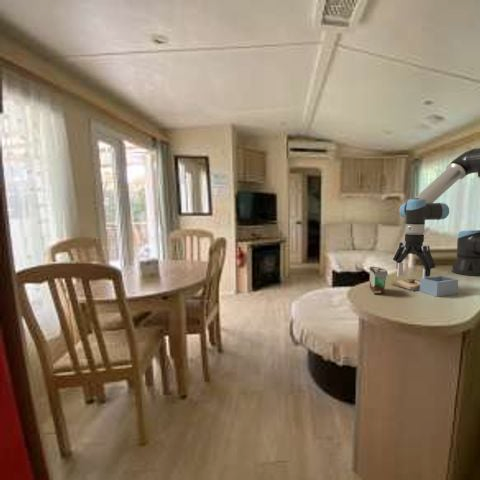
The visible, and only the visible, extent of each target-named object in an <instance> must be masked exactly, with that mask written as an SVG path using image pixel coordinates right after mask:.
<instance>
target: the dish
mask: <svg viewBox="0 0 480 480" xmlns="http://www.w3.org/2000/svg"><path fill="white" fill-rule="evenodd" d="M419 280H420V290H419V293H422V294H426V295H430V296H432V297H435V298H436V297H437V298H438V297H445V296H450V295H455V294H458V286H459V285H458V284H459V279H457V278H454V277H448V276H444V275H435V276H429V277H425V278H423V277H420V278H419Z"/></svg>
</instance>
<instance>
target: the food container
mask: <svg viewBox="0 0 480 480" xmlns="http://www.w3.org/2000/svg"><path fill="white" fill-rule="evenodd" d="M388 276H389V273H388V270H387V269H386V268H384V267H379V266H369V290H370V291H371V293H372V295H374V296H378V295H379V296H381V295H383V294H384V293H385V287H386V280H387V277H388Z"/></svg>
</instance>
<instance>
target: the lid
mask: <svg viewBox="0 0 480 480" xmlns="http://www.w3.org/2000/svg"><path fill="white" fill-rule="evenodd" d="M391 283H392V284H394V285H397V286H400V287H399V288H401V287H404V288H407V289H417V288H420V279H415V278H409V279H408V278H407V279H401V280H394V281H393V280H392V281H391ZM394 285H393V286H394ZM397 286H396V287H397ZM404 288H403V289H404ZM407 289H406V290H407Z"/></svg>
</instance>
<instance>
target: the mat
mask: <svg viewBox="0 0 480 480" xmlns="http://www.w3.org/2000/svg"><path fill="white" fill-rule="evenodd" d="M390 284H391V286H395V287H397V285H394V284H392V282H391V283H390ZM398 288H402V289H403V290H407V288H404V287H400V286H398ZM408 291H411V292H417V291H420V288H417V289H408Z"/></svg>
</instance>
